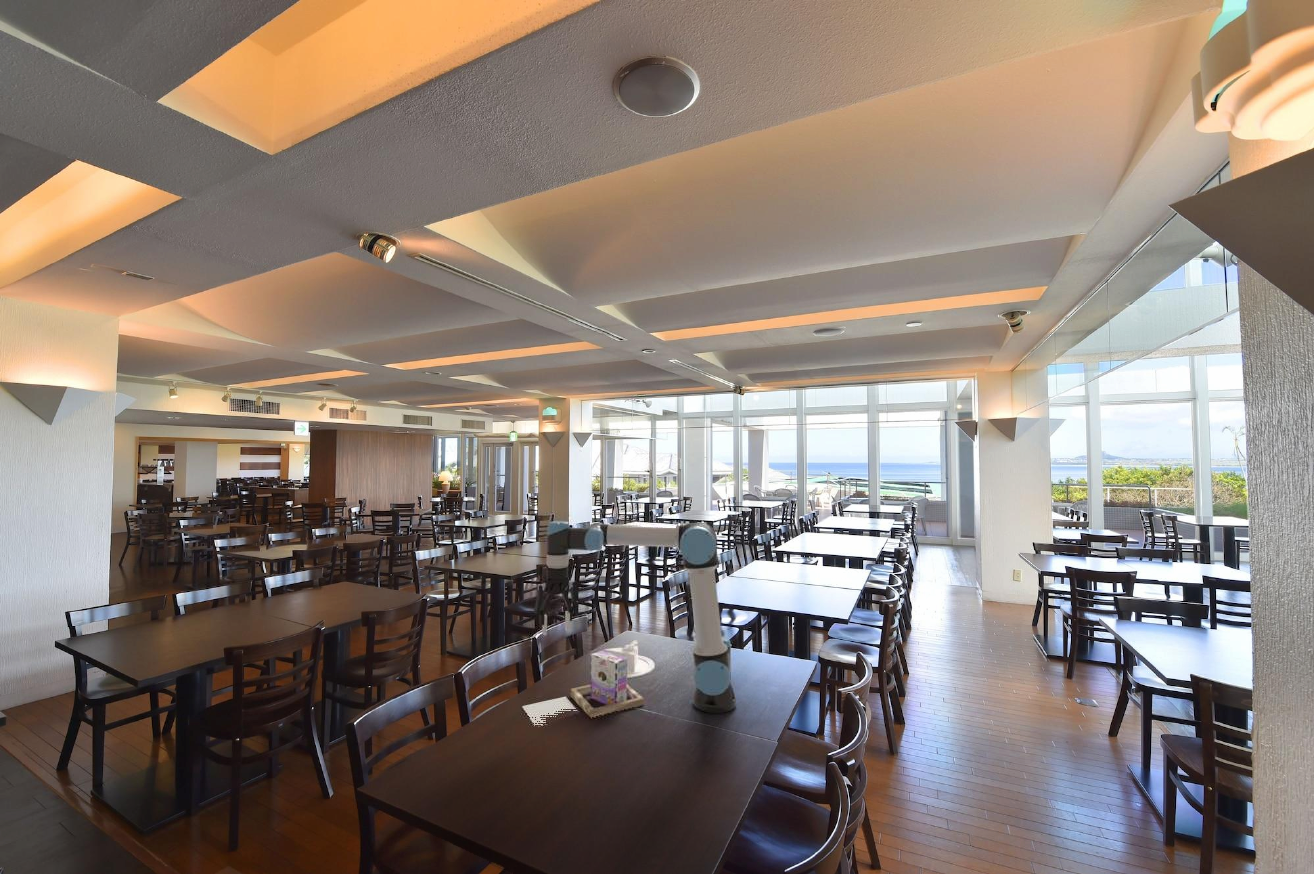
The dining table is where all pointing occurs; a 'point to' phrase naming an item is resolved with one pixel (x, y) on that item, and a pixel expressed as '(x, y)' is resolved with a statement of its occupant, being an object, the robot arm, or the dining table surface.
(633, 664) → the dish
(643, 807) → the dining table surface
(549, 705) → the place mat
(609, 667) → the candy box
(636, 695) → the pocket frame
